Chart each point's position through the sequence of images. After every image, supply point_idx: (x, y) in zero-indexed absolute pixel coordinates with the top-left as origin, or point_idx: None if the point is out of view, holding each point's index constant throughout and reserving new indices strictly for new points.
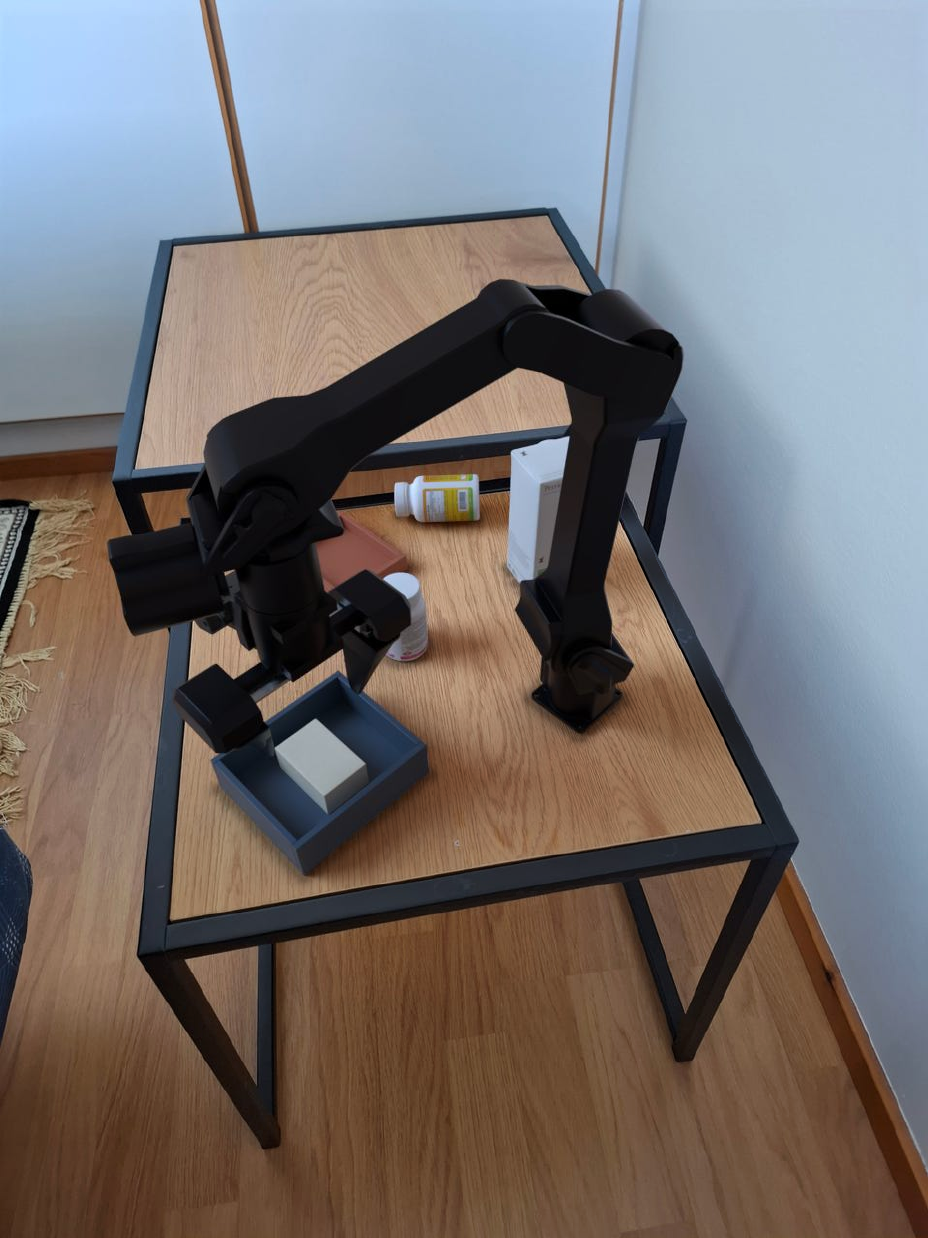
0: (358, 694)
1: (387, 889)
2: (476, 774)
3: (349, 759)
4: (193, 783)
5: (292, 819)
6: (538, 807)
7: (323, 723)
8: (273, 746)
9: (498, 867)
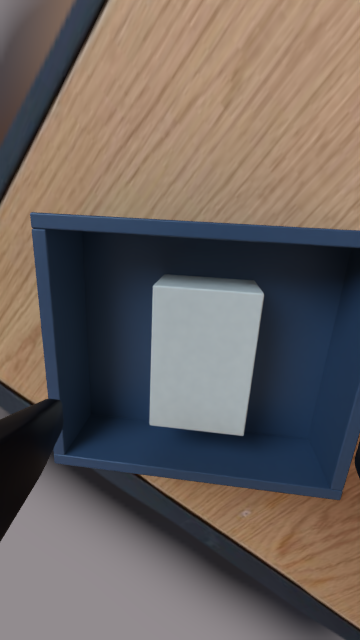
0: (355, 463)
1: (148, 488)
2: (349, 483)
3: (231, 410)
4: (47, 168)
5: (118, 359)
6: (348, 555)
7: (284, 259)
8: (18, 510)
9: (250, 555)
